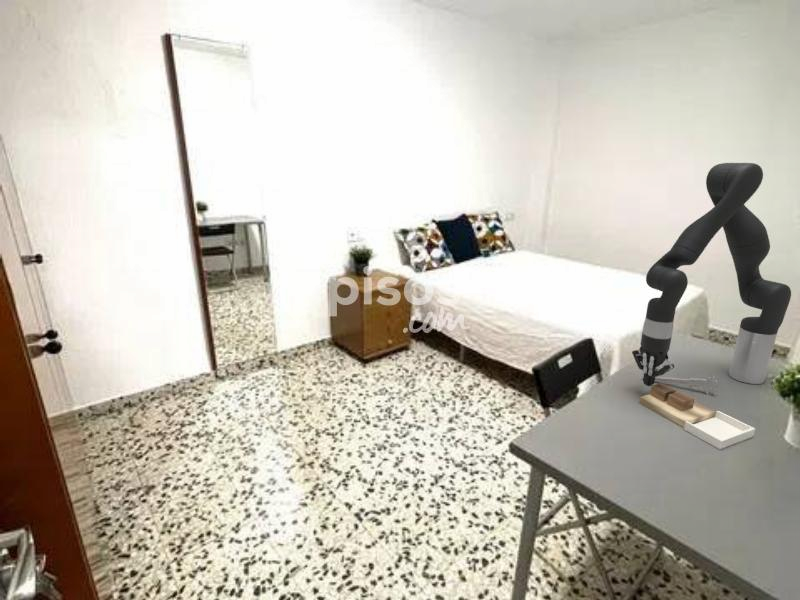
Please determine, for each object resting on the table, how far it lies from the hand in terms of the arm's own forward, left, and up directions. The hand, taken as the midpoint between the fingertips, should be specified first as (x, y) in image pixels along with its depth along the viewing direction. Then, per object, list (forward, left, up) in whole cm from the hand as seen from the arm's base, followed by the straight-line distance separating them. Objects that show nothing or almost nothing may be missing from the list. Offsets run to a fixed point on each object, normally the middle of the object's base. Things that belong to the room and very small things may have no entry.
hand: (647, 384), depth 128 cm
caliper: (-13, 0, -4) cm, 14 cm away
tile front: (0, +10, -2) cm, 11 cm away
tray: (0, +21, -4) cm, 21 cm away
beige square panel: (0, +10, -4) cm, 10 cm away
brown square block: (0, +5, -2) cm, 5 cm away
